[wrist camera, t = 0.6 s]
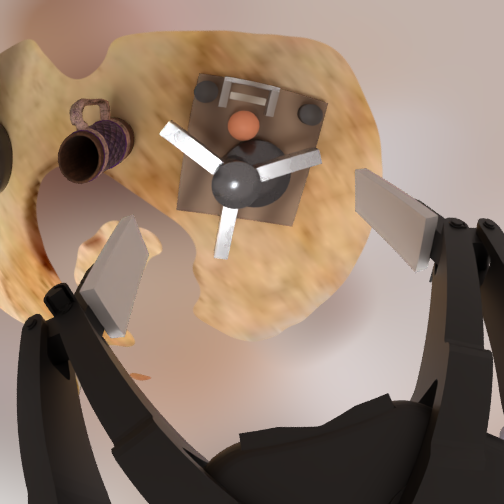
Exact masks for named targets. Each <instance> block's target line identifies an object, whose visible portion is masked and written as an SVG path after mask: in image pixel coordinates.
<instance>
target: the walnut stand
mask: <svg viewBox="0 0 504 504" xmlns="http://www.w3.org/2000/svg"><path fill="white" fill-rule="evenodd" d="M327 105H328V103H326V102H323V101H320V100H317V99H314V98H311V97H307V96H304V95H301V94H297V93H294V92H290V91H286V90H283V89H280V88H279V87H275V86H271V85H266V84H262V83H258V82H253V81H248V80H243V79H238V78H233V77H227V76H225V77H221V76H214V75H207V74H199V77H198V81H197V85H196V87H195V89H194V100H193V105H192V110H191V115H190V121H189V126H188V133H190V134H191V135H192V136H194V137H195V138H196V139H197V140H199V141H200V142H201V143H203V144H204V145H205V146H206V147H208V148H209V149H210V150H212V151H213V152H214V153H215V154H217V155H218V156H219V157H220V158H222V157H223V156H224V155H226V154H227V153H228V151H229V150H230V149H231V148H232V147H234V146H235V145H237V144H238V143H240V142H243V141H241V140H237V139H235V138H234V137H233V136H231V134H230V133H229V131H228V121H229V119H230V117H231V116H232V115H233V114H234V113H236V112H238V111H249V112H251V113H253V114H254V115H255V116H256V117H257V118H258V120H259V131H258V133H257V134H256V136H254V137H253V138H252V139H260V140H265V141H268V142H270V143H272V144H274V145H275V146H277V147H278V148H279V149H280V150H281V151H282V152H283V153H284V154H285V155H287V154H290V153H293V152H297V151H300V150H304V149H308V148H311V147H315V148H316V145H317V141H318V138H319V134H320V131H321V127H322V124H323V120H324V116H325V113H326V109H327ZM309 169H310V167H308V168H305V169H301V170H298V171H295V172H291V178H290V182H289V185H288V187H287V189H286V191H285V192H284V194H283V195H282V196H281V197H280V198H279V199H278V200H276V201H275V202H273V203H271V204H269V205H267V206H263V207H255V208H253V207H245V208H241V209H238V212H237V216H236V218H240V219H247V220H253V221H260V222H267V223H273V224H279V225H286V226H292V225H293V222H294V219H295V216H296V212H297V209H298V206H299V203H300V199H301V196H302V193H303V189H304V186H305V183H306V179H307V176H308V173H309ZM212 178H213V174H212V173H210V172H209V171H208V170H206V169H205V168H204V167H202V166H201V165H200V164H199V163H197V162H196V161H195V160H193V159H192V158H191V157H189V156H188V155H187V154H185V153H184V156H183V163H182V170H181V177H180V185H179V193H178V201H177V210H181V211H189V212H196V213H204V214H211V215H219V216H220V214H221V209H222V205H221V204H220V203H219V202H218V201H217V200H216V199H215V197H214V195H213V193H212V187H211V184H212Z"/></svg>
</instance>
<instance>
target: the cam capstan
mask: <svg viewBox="0 0 504 504" xmlns="http://www.w3.org/2000/svg"><path fill="white" fill-rule="evenodd" d="M160 135H161V136H162V137H164V138H165V139H166V140H168V141H169V142H171V143H172V144H173V145H175V146H176V147H177V148H179V149H180V150H181V151H183V152H184V153H185V154H187V155H188V156H189V157H191V158H192V159H193V160H195V161H196V162H197V163H199V164H200V165H201V166H202V167H204V168H205V169H206V170H208V171H209V172H210V173H212V174H213V178H212V184H211V187H212V193H213V195H214V197H215V199H216V200H217V201H218V202H219V203H220V204H221V205H222V209H221V214H220V219H219V225H218V230H217V236H216V242H215V247H214V258H219V259H228V254H229V250H230V245H231V240H232V235H233V230H234V226H235V221H236V216H237V212H238V209H241V208H245V207H253V208H255V207H263V206H267V205H269V204H271V203H273V202H275V201H276V200H278V199H279V198H280V197H281V196H282V195H283V194H284V192H285V191H286V189H287V187H288V185H289V182H290V178H291V172H295V171H298V170H301V169H305V168H308V167H312V166H315V165H319V164H322V161H321V156H320V152H319V149H317V148H315V147H311V148H308V149H304V150H300V151H297V152H293V153H290V154H287V155H285V154H284V153H283V152H282V151H281V150H280V149H279V148H278V147H277V146H275V145H274V144H272V143H270V142H268V141H265V140H260V139H250V140H246V141H243V142H240V143H238V144H237V145H235V146H234V147H232V148H231V149H230V150H229V151H228V153H227V154H226V155H224V156H223V157H222V158H220V157H219V156H218V155H217V154H215V153H214V152H213V151H212V150H210V149H209V148H208V147H206V146H205V145H204V144H203V143H201V142H200V141H199V140H197V139H196V138H195V137H194V136H192V135H191V134H190V133H188V132H187V131H186V130H184V129H183V128H182V127H180V126H179V125H178V124H176V123H175V122H174V121H172V120H171V121H169V122H168V123H167V125H166V126H165V127H164V128H163V130H162V131H161V132H160Z"/></svg>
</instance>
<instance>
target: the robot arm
mask: <svg viewBox="0 0 504 504" xmlns="http://www.w3.org/2000/svg"><path fill="white" fill-rule="evenodd" d="M11 168H12V151H11V145H10V140H9V137H8V135H7V132H6V131H5V129H4V127H3V126H2V125H1V124H0V193H1V192H2V191H3V190H4V188H5V187H6V185H7V183H8V181H9V178H10V174H11ZM355 211H356V212H357V213H358V214H359V215H360V216H361V217H362V218H363V219H364V220H365V221H366V222H367V223H368V224H369V225H370V226H371V227H372V228H373V229H374V230H375V231H376V232H377V233H378V234H379V235H380V236H381V237H382V238H383V239H384V240H385V241H386V242H387V243H388V244H389V245H390V246H391V247H392V248H393V249H394V250H395V251H396V252H397V253H398V254H399V255H400V256H401V257H402V259H403V260H404V261H405V262H406V263H407V264H408V265H409V266H410V267H411V268H412V269H413V271H414V272H419V271H422V270H425V269H427V267H428V263H429V259H430V258H431V259H432V260H433V261H434V262H435V263H434V266H433V270H432V274H431V277H430V281H429V282H432V292H431V303H430V312H429V320H428V328H427V334H426V340H425V346H424V352H423V357H422V362H421V367H420V371H419V376H418V380H417V384H416V388H415V391H414V393H413V396H412V398H411V400H410V401H405V400H399V401H392V400H391V398H390V396H389V394H388V393H387V394H385V395H383V396H380V397H378V398H375V399H372V400H370V401H367V402H364V403H362V404H359V405H356V406H354V407H353V408H351V409H349V410H348V411H346V412H344V413H343V414H341V415H340V416H338V417H336V418H334V419H333V420H331V421H329V422H327V423H326V424H324V425H322V426H318V427H276V428H270V429H265V430H259V431H253V432H247V433H240V434H239V436H240V442H238V443H236V444H234V445H232V446H230V447H228V448H226V449H225V450H223V451H222V452H220V453H218V454H217V455H216V456H215V457H213V458H212V459H211V461H208V460H207V459H206V458H204V457H203V456H202V455H201V454H200V453H198V452H197V451H196V450H195V449H194V448H193V447H192V446H191V445H189V444H188V443H187V442H186V441H185V440H184V439H183V438H182V436H181V435H180V434H179V433H178V432H177V431H176V430H175V429H174V428H173V427H172V426H171V425H170V424H169V423H168V422H167V421H166V419H165V418H164V417H163V416H162V415H161V414H160V413H159V411H158V410H157V409H156V408H155V407H154V406H153V405H152V403H151V402H150V401H149V400H148V399H147V397H146V396H145V395H144V393H143V392H142V391H141V390H140V388H139V387H138V386H137V385H136V383H135V382H134V381H133V379H132V378H131V377H130V375H129V374H128V373H127V371H126V370H125V368H124V367H123V366H122V364H121V363H120V361H119V360H118V359H117V357H116V356H115V354H114V353H113V351H112V350H111V348H110V347H109V345H108V344H107V342H106V341H105V339H104V338H103V337H102V335H103V332H104V330H105V331H106V332H107V334H108V335H109V336H110V338H118V337H125V334H126V330H127V326H128V322H129V318H130V315H131V311H132V308H133V304H134V300H135V297H136V293H137V290H138V287H139V284H140V280H141V277H142V274H143V271H144V268H145V265H146V262H147V259H148V256H149V253H148V250H147V248H146V245H145V243H144V240H143V238H142V235H141V233H140V230H139V228H138V225H137V222H136V220H135V217H134V215H130V216H126V217H123V218H122V219H121V220H120V222H119V223H118V225H117V226H116V228H115V230H114V231H113V233H112V234H111V236H110V238H109V239H108V241H107V243H106V244H105V246H104V248H103V249H102V251H101V253H100V254H99V256H98V258H97V260H96V261H95V263H94V264H93V265H92V266H91V267H90V268H89V269H88V270H87V271H86V273H85V275H84V277H83V279H82V280H81V282H80V284H79V286H78V288H77V290H76V292H75V294H73V293H72V291H71V290H70V288H69V286H68V285H67V284H66V283H60V284H57V285H56V286H54V287H53V288H51V289H50V290H49V291H48V292H47V294H46V295H45V297H44V303H45V304H46V306H47V307H48V309H49V310H50V312H51V313H52V314H53V316H54V318H51V319H49V320H47V321H45V320H44V319H43V317H42V316H41V315H40V314H35V315H33V316H32V317H29V318H28V320H26V322H25V324H24V326H23V328H22V335H21V342H20V351H19V361H18V374H17V422H18V435H19V445H20V453H21V461H22V467H23V472H24V478H25V482H26V487H27V491H28V504H111V502H110V499H109V497H108V493H107V491H106V489H105V486H104V483H103V481H102V478H101V475H100V473H99V470H98V467H97V464H96V461H95V458H94V455H93V452H92V449H91V445H90V441H89V438H88V434H87V430H86V426H85V422H84V418H83V414H82V409H81V404H80V399H79V394H78V388H77V382H76V376H77V378H78V380H79V382H80V384H81V386H82V388H83V390H84V393H85V395H86V396H87V398H88V400H89V402H90V404H91V406H92V408H93V410H94V412H95V413H96V415H97V417H98V419H99V421H100V422H101V424H102V426H103V427H104V429H105V431H106V432H107V434H108V436H109V437H110V439H111V440H112V442H113V444H114V448H112V449H111V450H112V454H113V456H114V458H115V460H116V461H117V463H118V464H119V465H120V467H121V468H122V470H123V471H124V473H125V474H126V475H127V477H128V478H129V479H130V481H131V482H132V483H133V485H134V486H135V487H136V488H137V490H138V491H139V492H140V494H141V495H142V496H143V497H144V498H145V500H146V501H147V502H148V503H149V504H504V427H503V428H502V429H501V431H500V438H498V437H496V436H493V435H491V434H489V433H487V427H488V420H489V412H490V405H491V393H492V377H493V357H494V363H495V367H496V373H497V379H498V385H499V392H500V398H501V404H502V409H503V413H504V233H503V231H502V230H501V229H500V227H499V226H498V225H497V224H496V223H495V222H493V221H492V220H490V219H484V218H482V219H479V220H478V223H477V228H469V227H468V225H467V224H466V223H465V222H463V221H462V220H460V219H456V218H446V219H444V218H443V217H442V216H440V215H439V214H438V213H436V212H435V211H434V210H431V208H429V207H428V206H426V205H425V204H424V203H422V202H421V201H419V200H417V199H414V198H413V197H411V196H410V195H408V194H407V193H405V192H404V191H402V190H401V189H399V188H397V187H396V186H394V185H393V184H391V183H390V182H388V181H386V180H385V179H383V178H381V177H380V176H378V175H376V174H375V173H373V172H371V171H370V170H368V169H366V168H364V169H356V170H355ZM489 264H490V266H489ZM483 319H484V322H485V325H486V329H487V333H488V336H489V341H490V345H491V348H492V352H491V351H490V350H485V349H484V337H483V336H484V332H483ZM492 353H493V356H492ZM75 373H76V375H75Z"/></svg>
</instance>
